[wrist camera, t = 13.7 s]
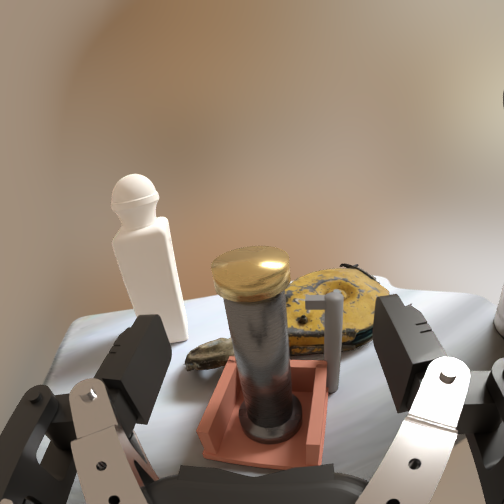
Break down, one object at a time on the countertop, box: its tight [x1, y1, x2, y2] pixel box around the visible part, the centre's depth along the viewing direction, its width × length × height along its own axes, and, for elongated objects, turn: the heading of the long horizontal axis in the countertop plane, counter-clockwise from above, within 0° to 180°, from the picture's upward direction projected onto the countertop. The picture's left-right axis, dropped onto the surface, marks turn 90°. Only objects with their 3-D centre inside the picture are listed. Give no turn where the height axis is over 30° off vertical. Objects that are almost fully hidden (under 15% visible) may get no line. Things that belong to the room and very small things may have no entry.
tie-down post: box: [211, 246, 302, 445], centre depth 22 cm, size 6×6×16 cm
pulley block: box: [185, 264, 412, 371], centre depth 37 cm, size 14×6×30 cm
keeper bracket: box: [196, 292, 344, 470], centre depth 24 cm, size 11×11×11 cm
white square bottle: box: [111, 174, 188, 343], centre depth 37 cm, size 6×6×22 cm
